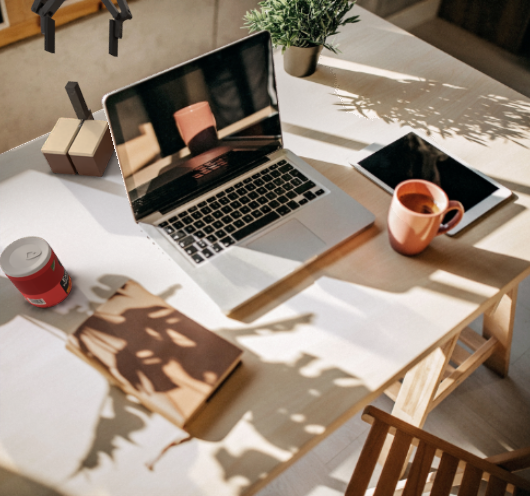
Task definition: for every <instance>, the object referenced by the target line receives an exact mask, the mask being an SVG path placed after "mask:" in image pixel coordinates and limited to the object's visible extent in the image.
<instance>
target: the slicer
mask: <svg viewBox="0 0 530 496" xmlns="http://www.w3.org/2000/svg"><path fill="white" fill-rule="evenodd" d="M64 89H65V91H66V94H67V96H68V100H69V101H70V103H71V106H72V109H73V110H74V113H75V115H76V119H79V120H82V122H81V124H80V126H79V128H80V129H81V127H82V125H83V123H84V122H85V120H87V119H88V120H95V117H94V115H93V112H92V110H91V108H89V107H88V105H87V102H86V99H85V97H84V94H83V92H82V89H81V87H80V84H79V82H78V81H72V80H68V81H67V82H66V84H65V86H64Z"/></svg>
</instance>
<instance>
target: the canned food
mask: <svg viewBox="0 0 530 496" xmlns="http://www.w3.org/2000/svg"><path fill="white" fill-rule="evenodd" d="M0 269H1V271H2V272H3V273H4V275H5V276H6V277H7V279H8V280H9V281H10V282H11V283H12V285H14V287H15V288H16V289H17V290H18V292H20V294H21V295H22V296H23V297H24V299H25V300H27V301H26V302H28V303H29V304H31V305H32V306H34V307H38V308H42V309H43V308H45V309H47V308H52V307H54V306H57V305H59V304H61V303H62V302H63V301H65V299H67V297H68V296H69V295H70V293H71V291H72V288H73V282H72V278H71V276H70V274H69V273H68V271H67V270H66V268H65V266H64V265H63V263H62V261H61V260H60V258H59V257H58V256H57V254H56V253H55V251H54V249H53V248H52V246H51V245H50V243H49V242H48V241H47V240H46V239H44V238H42V237H40V236H34V235H31V236H30V235H29V236H24V237H23V236H22V237H21V238H18V239H16V240H13V241H12V242H10V243H9V244H8V245H7V246H6V247H5V248H4V249H3V250H2V252H1V253H0Z"/></svg>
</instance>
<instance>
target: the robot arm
mask: <svg viewBox="0 0 530 496" xmlns="http://www.w3.org/2000/svg"><path fill="white" fill-rule="evenodd" d="M65 1H66V0H33V2H32V4H31V7H30V11H31V12H32V13H34V14H36V15H38V16H39V17H40V33H41V34H42V35H44V39H43V41H44V42H43V45H44V46H43V48H44V51H45V52H47V53H50V54H54V55H55V54H56V20H55V19H53V16H54V15H55V14H56V13H57V11H58V10H59V9H60V7H62V5H64V3H65ZM100 1H101V2H102V5H104V7H105V8H106V9H107V11H108V12H109V14H110V15H111V16H112V18H109V19H108V55H110V56H112V57H113V58H114V57H115V58H118V57H119V40H122V39H123V33H124V32H123V31H124V29H123V28H124V22H125V21H131V20H132V19H133V13H132V11H131V9H130V6H129V4H128V2H127V0H116V3H117V5H118V7H119V10H120V11H119V10H118V8H117V7H116V5H115V4H114V2H113V1H112V0H100Z"/></svg>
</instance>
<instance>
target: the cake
mask: <svg viewBox="0 0 530 496" xmlns="http://www.w3.org/2000/svg"><path fill="white" fill-rule="evenodd" d="M107 121H108V120H102V119H101V120H100V119H94V120H88V119H87V120H85V122H84V123H83V125H82V127H81V129H80V128H79V126H80V124H81V122H82V120H79V119H78V118H71V117H70V118H69V117H58V120H57V121H56V123H55V125H54V127H53V128H52V130H51V132H50V133H49V134H48V137H47V139H46V140H45V142H44V143H43V145H42V147H41V149H40V151H41V152H42V155H43V157H44V159H45V161H46V162H47V164H48V166H49V168H50V170H51V172H52V173H53V174H61V175H62V174H63V175H73V176H74V175H77V173H78V175H79V176H86V177H95V178H96V177H97V178H102V177H103V175H104V173H105V171H106V169H107V166H108V165H109V162H110V159H112V155H113V154H114V151H115V149H114V145H113V141H112V137H111V133H110V129H109V125H110V124H109V125H108V122H109V121H108V122H107Z"/></svg>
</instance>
